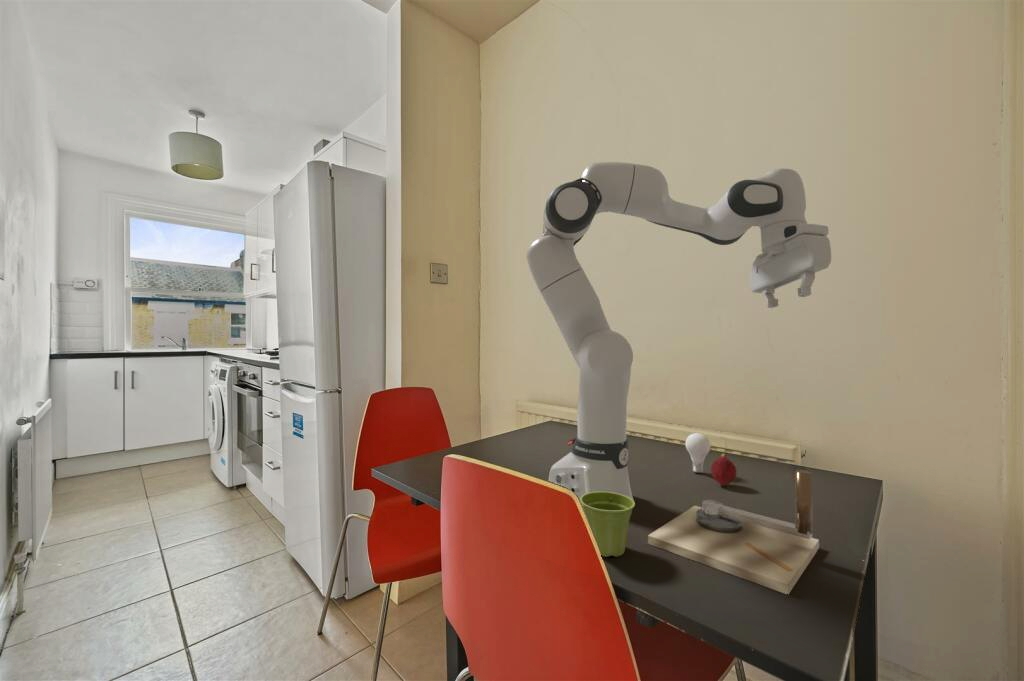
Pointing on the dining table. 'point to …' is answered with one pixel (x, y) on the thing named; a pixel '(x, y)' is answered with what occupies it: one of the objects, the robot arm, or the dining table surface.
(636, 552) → the dining table surface
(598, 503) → the plant pot
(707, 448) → the lightbulb
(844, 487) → the dining table surface
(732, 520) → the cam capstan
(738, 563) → the stand
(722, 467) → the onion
